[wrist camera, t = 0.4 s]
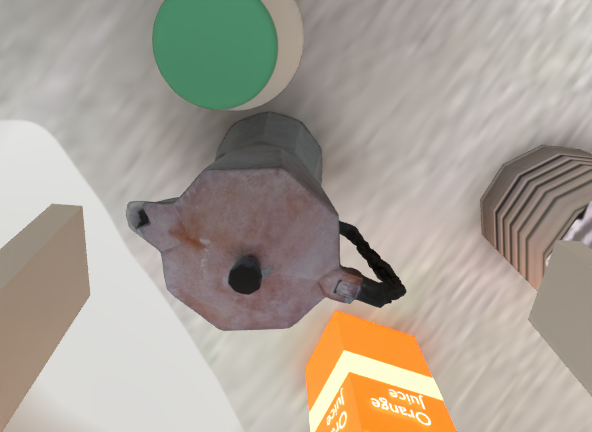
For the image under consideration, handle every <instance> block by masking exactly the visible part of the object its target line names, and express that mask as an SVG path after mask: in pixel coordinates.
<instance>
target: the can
mask: <svg viewBox="0 0 592 432" xmlns="http://www.w3.org/2000/svg"><path fill="white" fill-rule="evenodd" d="M480 203H481V226H482V235H483V236H484V237H485V238H486V239H487V240H488V241H489V242H490V243H491V244H492V245H493V246H494V247H495V248H496V249H497V250H498V251H499V252H500V253H501V254H502V255H503V256H504V257H505V258H506V259H507V261H508V262H509V263H510V264H511V265H512V266H513V267H514V268H515V269H516V270H517V271H518V272H519V273H520V274H521V275H522V276H523V277H524V278H525V279H526V280H527V281H528V282H529V283H530V284H531V285H532V286H533V287H534V288H535V289H536V290H537V291H538V290H539V287H540V284H541V282H542V279H543V276H544V273H545V270H546V267H547V265H548V262H549V259H550V256H551V253H552V251H553V248H554V245H555V242H556V240H566V241H581V242H583V243H584V244H586V245H587V246H588V247H590V248H591V249H592V155H591V154H589V153H587V152H584V151H582V150H580V149H571V148H562V147H553V146H544V145H540V146H538V147H536V148H535V149H533V150H531V151H529V152H527V153H525V154H523V155H521V156H519V157H517V158H515V159H513V160H511V161H509V162H507V163H505V164H503V165H502V167H501V168H500V170H499V171H498V173H497V174H496V176H495V177H494V179H493V181H492V182H491V184H490V185H489V187H488V188H487V190H486V191H485V193H484V195H483V196H482V198H481V199H480Z"/></svg>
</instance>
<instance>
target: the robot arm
mask: <svg viewBox="0 0 592 432" xmlns="http://www.w3.org/2000/svg"><path fill="white" fill-rule="evenodd" d="M89 296H90V287H89V277H88V265H87V254H86V243H85V231H84V219H83V209H82V206H74V205H61V204H51V205H50V206H49V207H48V208H47V209H46V210H45V211H43V212H42V213H41V214H40V215H39V216H38V217H37V218H35V219H34V220H33V221H32V222H31V223H30V224H29V225H27V226H26V227H25V228H24V229H23V230H22V231H21V232H19V233H18V234H17V235H16V236H15V237H14V238H13V239H11V240H10V241H9V242H8V243H7V244H6V245H5V246H3V247H2V248H1V249H0V432H2V431H3V430H4V428H5V427H6V425H7V424H8V422H9V420H10V419H11V417H12V416H13V414H14V412H15V411H16V409H17V408H18V406H19V405H20V403H21V402H22V400H23V399H24V397H25V395H26V394H27V392H28V391H29V389H30V388H31V386H32V384H33V383H34V381H35V380H36V378H37V377H38V375H39V374H40V372H41V371H42V369H43V368H44V366H45V364H46V363H47V361H48V360H49V358H50V356H51V355H52V354H53V352H54V350H55V349H56V347H57V346H58V344H59V343H60V341H61V340H62V338H63V336H64V335H65V333H66V332H67V330H68V329H69V327H70V325H71V324H72V322H73V320H74V319H75V318H76V316H77V315H78V313H79V312H80V310H81V308H82V307H83V305H84V304H85V302H86V301H87V299H88V298H89ZM528 320H529V321H530V323H531V324H532V325H533V326H534V327H535V329H536V330H537V331H538V332H539V333H540V335H541V336H542V337H543V338H544V340H545V341H546V342H547V343H548V344H549V346H550V347H551V348H552V349H553V350H554V352H555V353H556V354H557V355H558V356H559V358H560V359H561V360H562V361H563V362H564V364H565V365H566V366H567V367H568V368H569V370H570V371H571V372H572V373H573V374H574V376H575V377H576V378H577V379H578V381H579V382H580V383H581V384H582V385H583V387H584V388H585V389H586V390H587V391H588V393H589V394H590V395H591V396H592V249H591V248H590V247H588V246H587V245H586V244H584V243H583V242H581V241H566V240H556V242H555V245H554V248H553V251H552V253H551V256H550V259H549V262H548V265H547V267H546V270H545V273H544V276H543V279H542V282H541V284H540V287H539V290H538V293H537V296H536V299H535V301H534V304H533V307H532V310H531V313H530V316H529V318H528Z"/></svg>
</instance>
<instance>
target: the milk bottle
mask: <svg viewBox="0 0 592 432" xmlns="http://www.w3.org/2000/svg"><path fill="white" fill-rule="evenodd" d="M152 42H153V52H154V56H155V60H156V63H157V66H158V68H159V70H160V72H161V74H162V76H163V77H164V79H165V81H166V82H167V83H168V84H169V86H170V87H171V88H172V89H173V90H174V91H175V92H176V93H177V94H178V95H180V96H181V97H182V98H184V99H185V100H187V101H189V102H190V103H193V104H195V105H197V106H200V107H203V108H208V109H216V110H229V111H241V110H247V109H252V108H255V107H258V106H260V105H263V104H265V103H267V102H268V101H270V100H272V99H273V98H274V97H276V96H277V95H278V94H279V93H280V92H282V91H283V90H284V88H285V87H286V86H287V85H288V84H289V82H290V81H291V80H292V78H293V76H294V75H295V73H296V71H297V69H298V66H299V63H300V60H301V57H302V52H303V44H304V31H303V23H302V18H301V15H300V11H299V9H298V6H297V4H296V2H295V0H165V1H164V3H163V4H162V6H161V7H160V9H159V11H158V14H157V16H156V19H155V23H154V27H153V36H152Z"/></svg>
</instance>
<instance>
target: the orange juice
mask: <svg viewBox="0 0 592 432" xmlns="http://www.w3.org/2000/svg"><path fill="white" fill-rule="evenodd" d="M305 372H306V382H307V393H308V403H309V420H310V431H311V432H457V431H456V429H455V427H454V425H453V422H452V420H451V418H450V416H449V413H448V411H447V409H446V407H445V405H444V402H443V398H442V396H441V394H440V392H439V390H438V387H437V385H436V383H435V381H434V378H432V375H431V373H430V371H429V369H428V367H427V364H426V362H425V360H424V358H423V355H422V353H421V351H420V349H419V346H418V344H417V342H416V340H415V338H414V336H411V335H408V334H405V333H402V332H399V331H396V330H393V329H390V328H387V327H384V326H381V325H378V324H375V323H372V322H369V321H366V320H363V319H360V318H357V317H354V316H351V315H348V314H345V313H342V312H339V311H336V310H335V312H334V314H333V316H332V318H331V320H330V322H329V324H328V326H327V328H326V329H325V331H324V333H323V335H322V337H321V339H320V341H319V343H318V345H317V347H316V348H315V350H314V352H313V354H312V356H311V358H310V360H309V362H308V364H307V366H306V367H305Z"/></svg>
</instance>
